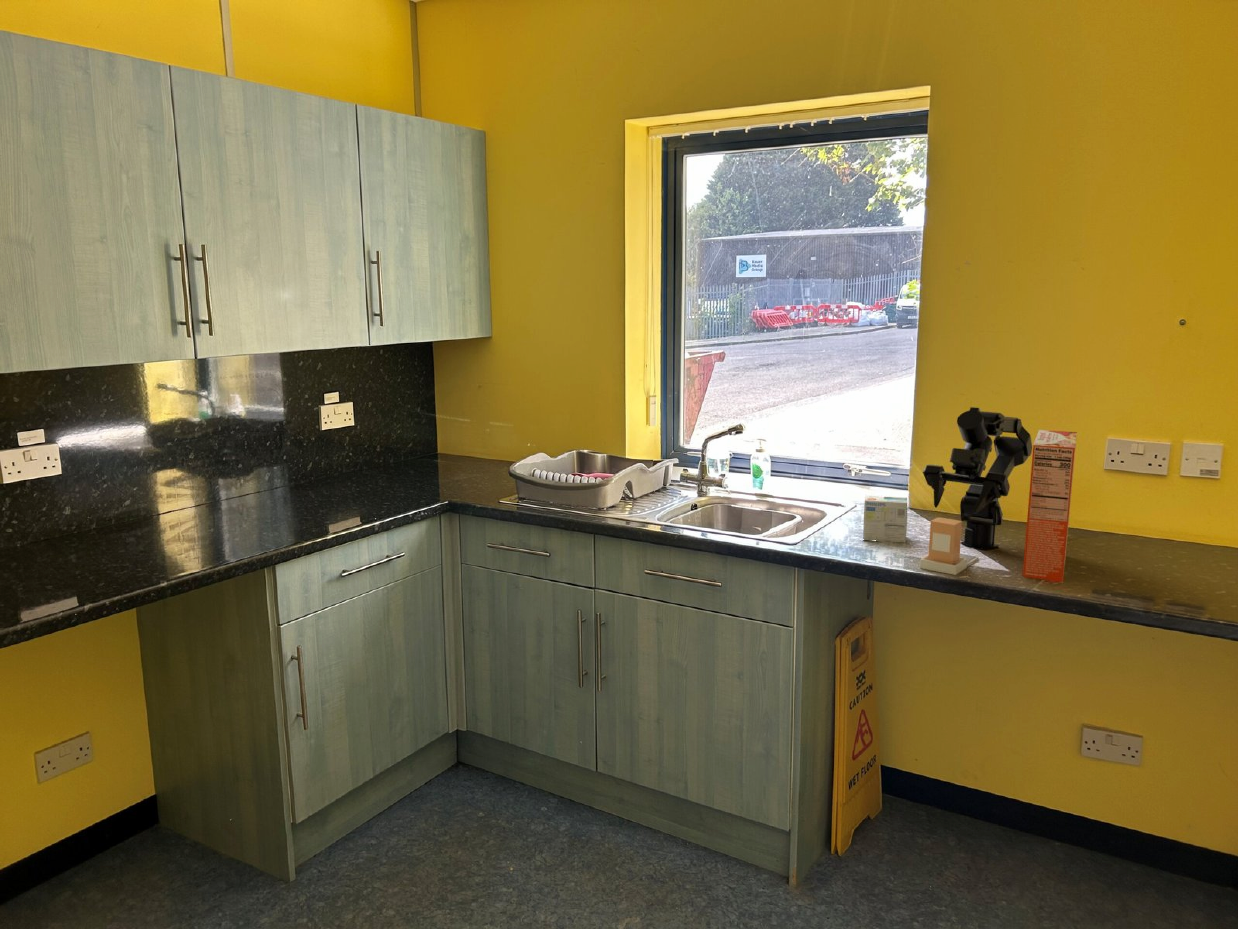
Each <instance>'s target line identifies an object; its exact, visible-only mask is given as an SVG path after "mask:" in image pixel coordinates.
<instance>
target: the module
mask: <svg viewBox="0 0 1238 929" xmlns="http://www.w3.org/2000/svg"><path fill="white" fill-rule="evenodd" d="M962 525H963V521H961V520H958V519H953V518H945V517H939V516H938V517H935V518H934V519H932V520H930V527H929V543H928V554H929V557H928V560H930V561H935V562H941V563H946V564H951V565H956V564H958V563H959V559H960V554H961V545H962V544H961V541H962V529H963V528H962V527H963V526H962Z"/></svg>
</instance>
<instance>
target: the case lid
mask: <svg viewBox="0 0 1238 929" xmlns="http://www.w3.org/2000/svg"><path fill="white" fill-rule="evenodd" d="M960 557H962V558H967V567H970V566H971V565H973V564H974V563H975V562H977V561H978V560H979V559H980V558H979V556H976V555H971V554H966V553H965V554H964V553H960Z"/></svg>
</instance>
